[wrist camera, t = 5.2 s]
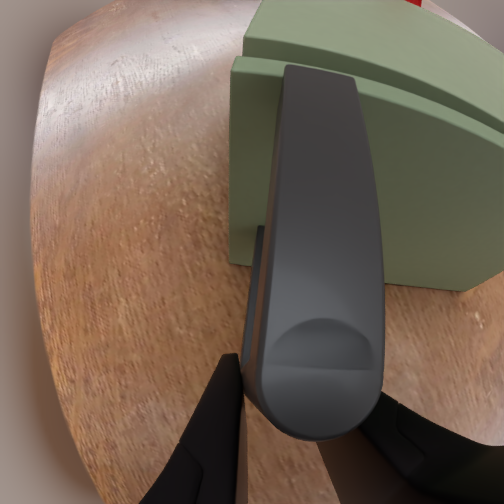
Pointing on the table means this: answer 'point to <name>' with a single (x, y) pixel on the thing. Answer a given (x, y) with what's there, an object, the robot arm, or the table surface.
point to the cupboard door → (346, 229)
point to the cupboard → (385, 50)
